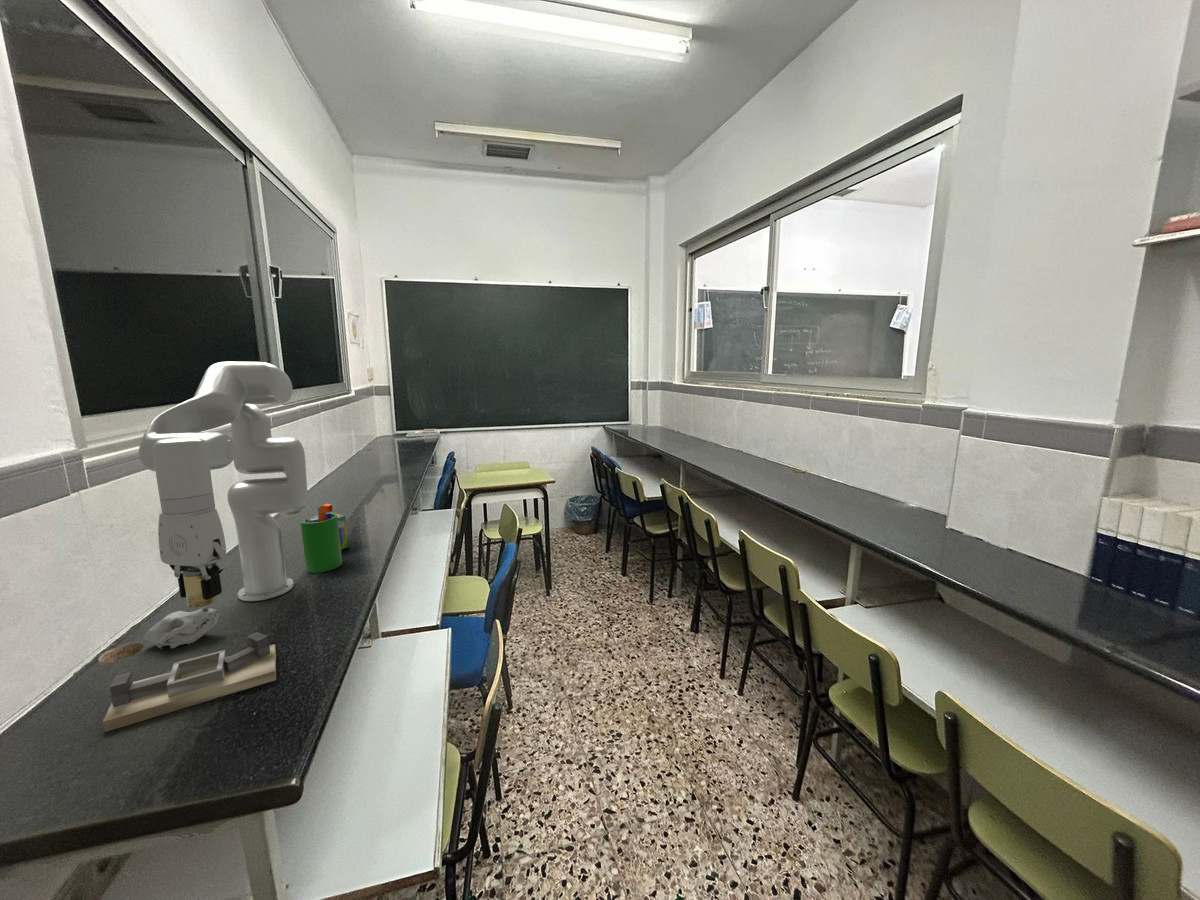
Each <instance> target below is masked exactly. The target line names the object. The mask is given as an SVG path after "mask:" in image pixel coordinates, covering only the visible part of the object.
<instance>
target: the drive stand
mask: <svg viewBox="0 0 1200 900" xmlns="http://www.w3.org/2000/svg"><path fill="white" fill-rule="evenodd" d="M246 639H247V647H246V648H244V649H242V650H240V651H238V652H236V653H234V654H232V655H229V656H227V654H226V653H227V651H226V649H223V650H218V651H214V652H210V653H207V654H202V655H201V656H199V655H198V656H196V657H191V658H188V659H184V660H180V661H177V662H174V663H173V665H172V669H171V671H170V672H165V673H163V674H159V675H154V676H151V677H147V678H143V679H140V680H135V681H133V676H132V672H131V671H129V672H126V673H122V674H117V675H115V676H114V678H113V680H112V682H111V684H110V686H109V689H110V699H111V703H110V706H109V707H108V710H107V712H106V714H105V716H104V717H103V720H102V726H103V731H104V733H106V732H110V731H113V730H117V729H120V728H124V727H126V726H129V725H133V724H136V723H139V722H143V721H146V720H149V719H153V718H156V717H159V716H163V715H165V714H169V713H172V712H176V711H178V710H179V711H180V710H183V709H185V708H189V707H192V706H196V705H198V704H201V703H205V702H209V701H212V700H215V699H218V697H219V698H222V697H225V696H228V695H232V694H235V693H238V692H242V691H244V690H248V689H251V688H254V687H258V686H261V685H265V684H267V683H271V682H274V681H276V680H277V650H276V644H275V643H274V644H271V645H270V642H269V636H268V635H266V634H263V633H261V632H259V631H256V632H254V633H252V634H250V635H247V636H246Z"/></svg>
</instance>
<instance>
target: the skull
mask: <svg viewBox="0 0 1200 900" xmlns="http://www.w3.org/2000/svg"><path fill="white" fill-rule="evenodd" d="M219 619H220V614H219V611H218V609H216V608H209V607H206V606H203V607H200V609H198V610H194V611H190V612H189V611H183V610H179V611H174V612H171V613H168V614H167V615H166V616H165V617H163V618H162V619H161V620H160V621H158V622H156V624H155V625H153V626H152V627H150V628H149V630H148V631H147V632H146V634H145V635H144V636H145V637H144V640H145V641H147V642H152V643H154V645H155V646H156V647H157V648H159V649H161V648H160V647H163V648H164V647H165V646H169V648H170V649H175V648H177V647H178V646H180V645H181V646H182V645H184V644H188V645H191V644H190V643H192V644H193V642H194V643H195V642H197V641H198V640H199V639H201V637H203V636H204V635H205V634H206V633H207V632H208V631H209V630H211V629H212V628H213V627H215V625H216V624H217V623H218V622H219ZM184 646H185V645H184Z"/></svg>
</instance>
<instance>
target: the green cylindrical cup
mask: <svg viewBox="0 0 1200 900" xmlns="http://www.w3.org/2000/svg"><path fill="white" fill-rule="evenodd" d="M318 508H319V511H318V513H317V514H318V519H316V520H312V521H309V522H307V523H306V522H304V521H302V522H300V527H301V536H302V544H303V551H304V552H303V553H304V561H305V568H306V573H309V572H311V574H317V573H318V574H319V573H324V572H329V571H332V570H335V569H337V568H339V567H340V566H342V565H343V557H342V550H341V546H340V537H339V528H338V519H337V514H338V513H336V514H334V513H335V512H333V510H334V509H333V504H331V503H324V504H322V505H320V506H319V507H318ZM326 512H327V513H326ZM331 512H332V513H331Z"/></svg>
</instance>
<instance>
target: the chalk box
mask: <svg viewBox="0 0 1200 900" xmlns="http://www.w3.org/2000/svg"><path fill="white" fill-rule="evenodd" d="M319 508H320V507H317V511H318V512H319ZM326 513H327V512H326ZM330 513H334V514H337V519H338V528H339V537H340V546H341V551H342V550H343V549H347V548H349V547H350V545H349V535H348V529H347V528H348V527H347V520H346V515H343V514H339V513H336V512H333V511H332V512H330ZM316 519H318V515H314V516H311V517H307V518H305V519H304V521H305V523H307V522H309V521H312V520H316Z"/></svg>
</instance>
